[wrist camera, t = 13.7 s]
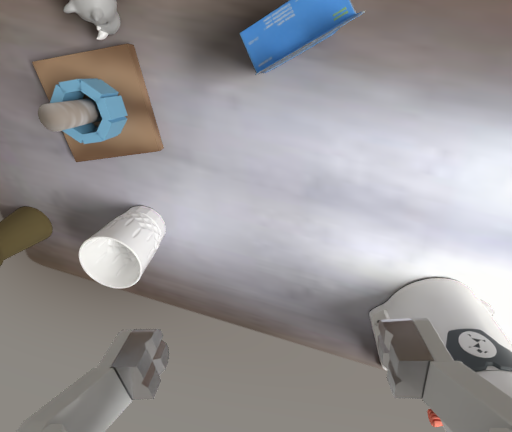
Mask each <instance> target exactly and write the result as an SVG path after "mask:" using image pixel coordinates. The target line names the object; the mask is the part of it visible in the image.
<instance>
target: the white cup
mask: <svg viewBox="0 0 512 432" xmlns="http://www.w3.org/2000/svg"><path fill="white" fill-rule="evenodd" d="M165 233H166V227H165V222H164V220H163V219H162V217H161V215H160V214H158V213H157V212H156V211H154V210H153V209H152V208H148V207H145V206H136V207H132V208H130V209H129V210H128V211H126V212H125V213H124V214H122V215H120V216H118V217H117V218H115V219H114V220H112V221H111V222H110V223H108V224H107V225H106V226H105V227H103V228H102V229H101V230H99V231H98V232H97V233H95V234H94V235H93V236H91V237H90V238H89V239H87V240H86V241H85V242H84V243H83V244H82V245H81V247H80V250H79V260H80V263H81V266H82V267H83V269H84V270H85V272H86V273H87V274H88V275H89V276H90V277H91V278H92V279H94V280H95V281H97V282H98V283H100V284H102V285H105V286H108V287H111V288H127V287H130V286H132V285H134V284H135V283H137V282H138V280H139V279H140V277H141V276H142V274H143V272H144V271H145V269H146V267H147V266H148V264H149V262H150V261H151V259H152V258H153V256H154V254H155V252H156V251H157V249H158V247H159V245H160V242H161V241H162V239H163V237H164V235H165Z"/></svg>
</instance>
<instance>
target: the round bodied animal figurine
mask: <svg viewBox="0 0 512 432" xmlns="http://www.w3.org/2000/svg"><path fill="white" fill-rule="evenodd" d="M116 10H117V2H116V0H70V1H69V3H68V4H66V5H65V7H64V10H63V11H64V12H65V13H72V12H75V13H77V14H78V15H79V16H80V17H81V18H82V19H83V20H85V21H88V22H91V23H94V24H95V26H96V27H97V30H98V37H97V40H103V39H105V38H106V37H107V36H108V35H109V34H112V35H113V34H115V33H116V32H117V31H118V29H119V27H120V17H119V14H118V13H117V11H116Z"/></svg>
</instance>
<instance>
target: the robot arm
mask: <svg viewBox="0 0 512 432" xmlns="http://www.w3.org/2000/svg"><path fill="white" fill-rule="evenodd" d="M493 314H494V310H493V308H492V307H491V305H490V304H488V303H486V302H484V301H482V300H480V299H478V298H477V297H476V296H475V294H474V293H473V291H472V290H471V289H470V288H469V287H468V286H466V285H465V284H463V283H461V282H459V281H456V280H452V279H446V278H431V279H425V280H421V281H417V282H414V283H412V284H409V285H407V286H405V287H403V288H402V289H400V290H399V291H397V292H396V293H395V294H394V295H393V296H392V297H391V298H390V299H389V300H388V301H387V302H385V303H384V304H382V305H380V306H378V307H376V308H374V309H373V310H371V311H370V313H369V316H370V320H371V325H372V329H373V333H374V338H375V342H376V346H377V350H378V355H379V359H380V363H381V365H382V367H383V369H385V370H387V371H388V372H387V379H388V382H389V385H390V388H391V390H392V393H393V396H394V398H415V399H416V398H417V399H422V400H423V401H424V402H425V403H426V404H427V406H428V407H429V408H430V409H428V417H429V420H430V422H431V425H433V427H438V426H444V429H445V431H446V432H512V344H511V342H510V341H509V339H508V338H507V336H506V335H505V334H504V332H503V331H502V329H501V328H500V327H499V325H498V324H497V322H496V321H495V320H494V318H493V317H492V316H493ZM162 337H163V334H162V332H161V330H160V329H138V330H137V329H134V330H122V331H120V332H119V333H118V334H117V336H116V338H115V339H114V341H113V342H112V344H111V345H110V347H109V349H108V350H107V352H106V353H105V355H104V357H103V358H102V360H101V361H100V363H99V365H98V366H97V368H93V369H91V370H90V371H89V372H87V373H86V374H85V375H83V376H82V377H81V378H79V379H78V380H77V381H76V382H74V383H73V384H72V385H70V386H69V387H68V388H66V389H65V390H64V391H63V392H61V393H60V394H59V395H57V396H56V397H55V398H53V399H52V400H51V401H50V402H48V403H47V404H46V405H44V406H43V407H42V408H41V409H39V410H38V411H37V412H35V413H34V414H33V415H31V416H30V417H29V418H27V419H26V420H25V421H24V422H23V423H22V424H21V425H20V427H19V428H18V429H17V431H16V432H105V431H106V430H107V428H108V427H109V426H110V425H111V424H112V423H113V422H114V421H115V420H116V418H117V417H118V416H119V415H120V414H121V413H122V412H123V411H124V410H125V408H126V407H127V406H128V405H129V404H130V403H131V402H132V400H139V399H154V397H155V394H156V392H157V389H158V387H159V384H160V382H161V380H160V376H159V375H160V374H161V373H162V372H163V371H164V370H165V369H166V366H167V363H168V359H169V349H168V346H167V343H165V342H164V341H162Z"/></svg>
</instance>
